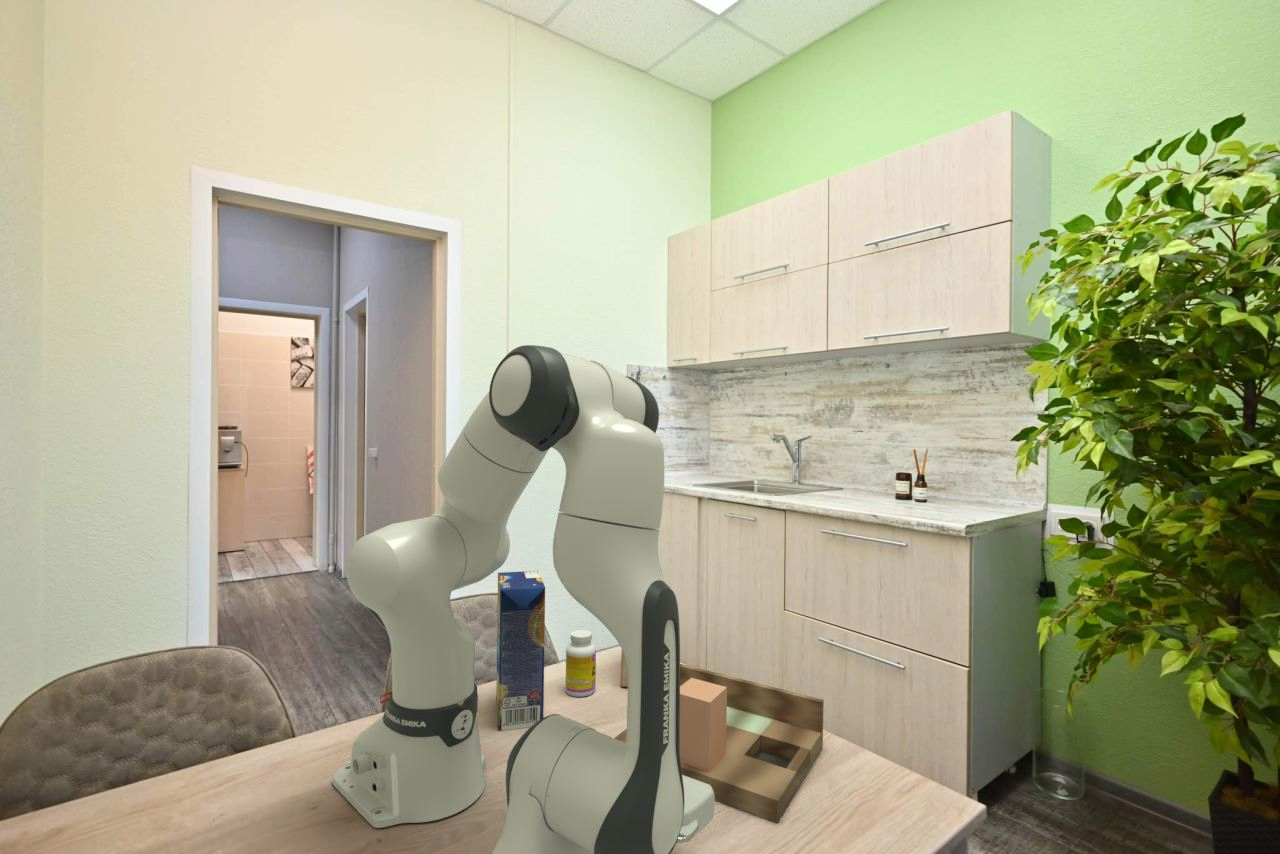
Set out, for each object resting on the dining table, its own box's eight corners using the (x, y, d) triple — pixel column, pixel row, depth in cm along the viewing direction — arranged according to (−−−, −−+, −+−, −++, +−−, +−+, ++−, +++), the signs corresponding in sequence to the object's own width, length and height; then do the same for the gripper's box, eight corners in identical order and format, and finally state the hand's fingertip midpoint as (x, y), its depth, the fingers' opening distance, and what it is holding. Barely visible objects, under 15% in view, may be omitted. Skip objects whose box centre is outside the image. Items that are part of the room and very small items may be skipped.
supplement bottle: (596, 697, 117) (596, 638, 117) (565, 698, 116) (566, 639, 116) (594, 684, 123) (595, 627, 123) (565, 685, 122) (566, 628, 122)
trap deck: (609, 760, 95) (609, 709, 95) (676, 705, 114) (677, 662, 114) (777, 823, 81) (778, 763, 81) (822, 748, 100) (823, 699, 100)
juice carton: (543, 726, 106) (545, 587, 105) (498, 731, 104) (500, 590, 103) (536, 695, 117) (538, 570, 117) (496, 699, 115) (498, 572, 115)
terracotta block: (671, 759, 91) (673, 692, 91) (690, 741, 96) (691, 677, 96) (708, 772, 88) (710, 702, 87) (725, 753, 93) (727, 687, 92)
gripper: (684, 817, 65) (736, 757, 77) (537, 758, 76) (602, 713, 87) (683, 876, 65) (735, 807, 77) (536, 809, 76) (601, 757, 88)
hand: (663, 756), depth 82 cm, fingers closed
